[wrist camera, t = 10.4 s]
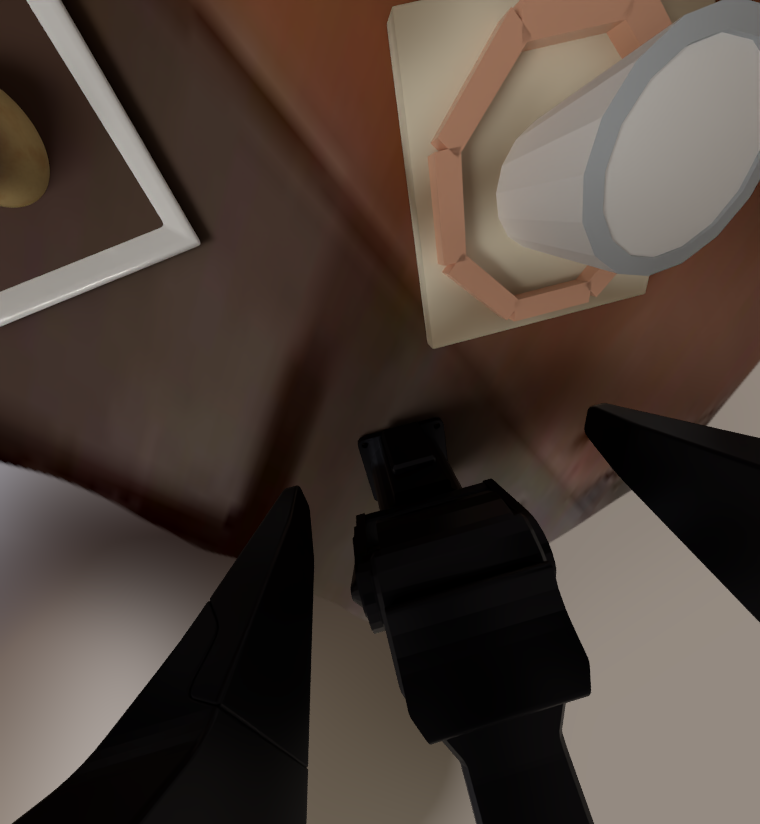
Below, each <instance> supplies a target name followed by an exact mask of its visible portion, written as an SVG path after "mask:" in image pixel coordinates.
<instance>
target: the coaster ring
mask: <svg viewBox="0 0 760 824" xmlns="http://www.w3.org/2000/svg"><path fill="white" fill-rule="evenodd" d="M671 24H672V22H671V20H670V18H669V16H668V14H667V12H666V10H665V8H664V6H663V4H662V2H661V0H519V2H518V3H517V4H516V5H515V6H514V7H513V8H512V7H511V8H510V9H509V10H508V11H507V12H506V13H505V15H504V16H503V17H502V18H501V19H500V20H499V21H498V23H497V25H496V27H495V29H494V30H493V32H492V34H491V36H490V37H489V39H488V41H487V43H486V45H485V46H484V48H483V50H482V52H481V54H480V55H479V57H478V59H477V61H476V62H475V64H474V66H473V68H472V70H471V71H470V73H469V75H468V77H467V79H466V80H465V82H464V84H463V86H462V87H461V89H460V91H459V93H458V95H457V96H456V98H455V100H454V102H453V104H452V105H451V107H450V109H449V111H448V112H447V114H446V116H445V118H444V120H443V121H442V123H441V125H440V127H439V129H438V130H437V132H436V134H435V136H434V138H433V139H432V141H431V144H432V145H433V146H434V147H435V148H436V149H437V150H438V152H434V153H432V154H431V155H429V156H428V167H429V177H430V188H431V198H432V208H433V219H434V229H435V240H436V250H437V260H438V264H440V265H443V266H446V267H445V268H444V270H443V271H442V273H444V274H445V275H446V276H448V277H449V278H450V279H451V280H453V281H454V282H455V283H457V284H458V285H459V286H460V287H462V288H463V289H464V290H466V291H467V292H468V293H469V294H471V295H472V296H473V297H475V298H476V299H477V300H478V301H480V302H481V303H482V304H484V305H485V306H486V307H487V308H489V309H490V310H491V311H493V312H494V313H495V314H496V315H498V316H499V317H501V318H503V319H505V320H508V319H510V320H512V321H514V322H515V321H519V320H522V319H526V318H530V317H534V316H538V315H542V314H545V313H549V312H553V311H557V310H561V309H565V308H569V307H572V306H576V305H580V304H584V303H588V302H589V297H590V296H594V297H597V296H598V295H599V294H600V293H601V291H602V290H603V289H604V288H605V287H606V286H607V285H608V283H609V282H610V281H611V280H612V279H613V278H614V277H615V275H616V273H613V272H609V271H606V270H602V269H599V268H595V267H592V266H588V265H587V266H586V268H585V269H584V270H583V271H582V273H581V274H580V275H579V276H578V277H577V279H575V280H572V281H568V282H564V283H560V284H556V285H552V286H548V287H544V288H540V289H537V290H533V291H529V292H525V293H521V294H517V295H513V294H512V293H510V292H509V291H508V290H507V289H506V288H504V287H503V286H502V285H501V284H500V283H498V282H497V281H496V280H495V279H494V278H493V277H491V276H490V275H489V274H488V273H487V272H485V271H484V270H483V269H482V268H481V267H479V266H478V265H477V264H476V263H475V262H474V261H472V260H471V259H470V258H469V257H468V256H466V240H465V220H464V200H463V181H462V161H461V152H462V150H463V149H464V147H465V145H466V144H467V142H468V140H469V139H470V137H471V135H472V134H473V132H474V130H475V128H476V127H477V125H478V123H479V122H480V120H481V118H482V117H483V115H484V113H485V112H486V110H487V108H488V107H489V105H490V103H491V102H492V100H493V98H494V97H495V95H496V93H497V92H498V90H499V88H500V87H501V85H502V83H503V82H504V80H505V78H506V77H507V75H508V73H509V72H510V70H511V68H512V67H513V65H514V63H515V62H516V60H517V58H518V57H519V55H520V53H521V52H524V51H529V50H533V49H537V48H542V47H546V46H551V45H555V44H559V43H564V42H568V41H573V40H577V39H581V38H586V37H590V36H595V35H599V34H603V33H607V35H608V37H609V38H610V40H611V42H612V43H613V45H614V47H615V48H616V50H617V52H618V53H619V55H620V56H621V58H622V59H623V58H624V57H626V56H627V55H629V54H630V53H632V52H633V51H634V50H636V49H637V48H639V47H640V46H641V45H643V44H644V43H646V42H647V41H648V40H650V39H651V38H653V37H654V36H656V35H657V34H658V33H660V32H661V31H663V30H664V29H665V28H667V27H668V26H670V25H671Z"/></svg>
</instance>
